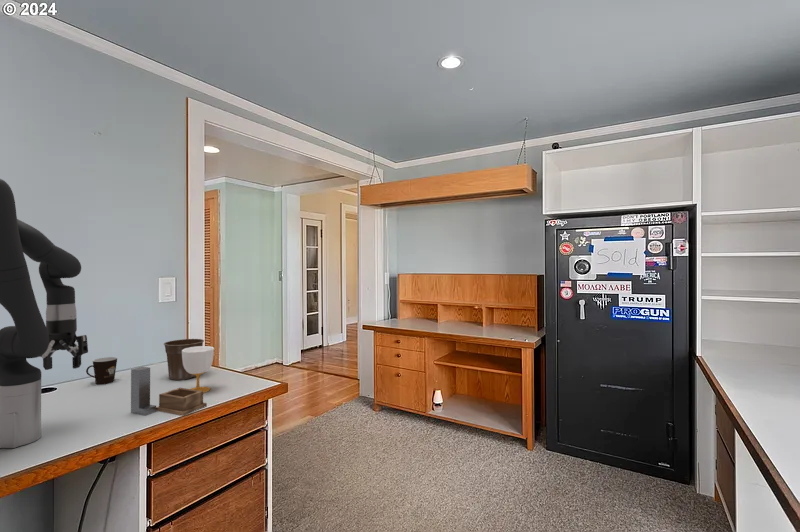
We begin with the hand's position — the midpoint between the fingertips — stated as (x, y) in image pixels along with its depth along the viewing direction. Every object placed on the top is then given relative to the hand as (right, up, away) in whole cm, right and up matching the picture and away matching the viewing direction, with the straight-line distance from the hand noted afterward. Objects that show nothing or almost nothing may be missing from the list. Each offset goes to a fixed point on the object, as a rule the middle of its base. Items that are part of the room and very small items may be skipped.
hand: (62, 368), depth 127 cm
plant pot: (+10, -18, +54) cm, 57 cm away
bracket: (+20, -18, +10) cm, 28 cm away
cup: (+26, -18, +34) cm, 46 cm away
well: (+31, -18, +14) cm, 38 cm away
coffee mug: (-20, -18, +43) cm, 51 cm away
